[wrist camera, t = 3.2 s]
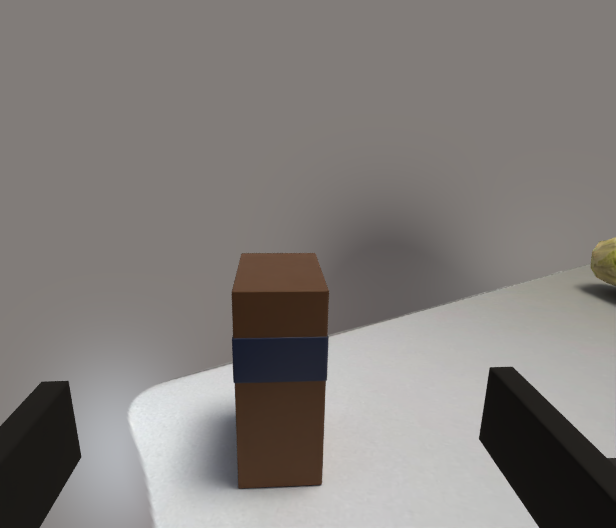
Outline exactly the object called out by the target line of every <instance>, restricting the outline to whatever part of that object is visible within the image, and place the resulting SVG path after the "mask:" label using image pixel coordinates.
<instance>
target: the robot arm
mask: <svg viewBox="0 0 616 528" xmlns="http://www.w3.org/2000/svg"><path fill="white" fill-rule="evenodd" d="M479 440H480V441H481V443H482V444H483V445H484V447H485V448H486V450H487V451H488V453H489V454H490V456H491V457H492V459H493V460H494V462H495V463H496V465H497V466H498V468H499V469H500V471H501V472H502V473H503V475H504V476H505V478H506V479H507V481H508V482H509V484H510V485H511V487H512V488H513V490H514V491H515V493H516V494H517V496H518V497H519V498H520V500H521V501H522V503H523V504H524V506H525V507H526V509H527V510H528V512H529V513H530V515H531V516H532V518H533V519H534V521H535V522H536V524H537V525H538V526H539V528H616V458H606V457H605V456H604V455H603V454H602V453H601V452H600V451H599V450H598V449H597V448H596V447H595V446H594V445H593V444H592V443H591V442H590V441H589V440H588V439H587V438H586V437H585V436H583V435H582V434H581V433H580V432H579V431H578V430H577V429H576V428H575V427H574V426H573V425H572V424H571V423H570V422H569V421H568V420H567V419H566V418H565V417H564V416H563V415H562V414H561V413H560V412H559V411H558V410H557V409H556V408H555V407H554V406H552V405H551V404H550V403H549V402H548V401H547V400H546V399H545V398H544V397H543V396H542V395H541V394H540V393H539V392H538V391H537V390H536V389H535V388H534V387H533V386H532V385H531V384H530V383H529V382H528V381H527V380H526V379H525V378H524V377H523V376H521V375H520V374H519V373H518V372H517V371H516V370H515V369H514V368H513V367H490V370H489V376H488V383H487V389H486V396H485V403H484V409H483V416H482V422H481V429H480V436H479ZM80 458H81V452H80V446H79V440H78V434H77V428H76V423H75V416H74V411H73V405H72V399H71V393H70V387H69V382H68V381H51V382H41V383H40V384H39V385H38V386H37V387H36V389H35V390H34V391H33V392H32V393H31V394H30V395H29V396H28V397H27V398H26V399H25V401H23V402H22V404H21V405H20V406H19V407H18V408H17V409H16V410H15V411H14V412H13V413H12V414H11V415H10V416H9V418H8V419H7V420H6V421H5V422H4V423H3V424H2V425H1V426H0V528H40V526H41V524H42V523H43V521H44V519H45V518H46V516H47V514H48V513H49V511H50V509H51V507H52V506H53V504H54V502H55V501H56V499H57V497H58V496H59V494H60V492H61V491H62V489H63V487H64V486H65V484H66V482H67V480H68V479H69V477H70V475H71V474H72V472H73V470H74V469H75V467H76V465H77V463H78V462H79V460H80Z"/></svg>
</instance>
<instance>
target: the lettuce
mask: <svg viewBox="0 0 616 528" xmlns="http://www.w3.org/2000/svg"><path fill="white" fill-rule="evenodd" d="M591 258H592V259H591V269H592V271H593V272H594V274H595V276H596V277H597V278H599V279H601V280H603V281H604V282H606V283H609V284H612V285H614V286H616V237H615V238H612V239H609V240H606V241H600V242H599V243H598V245H597V246H596V247H595V249H594V250H593V251H592V257H591Z"/></svg>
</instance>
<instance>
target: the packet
mask: <svg viewBox="0 0 616 528" xmlns="http://www.w3.org/2000/svg"><path fill="white" fill-rule="evenodd" d="M328 303H329V290H328V287H327V285H326V282H325V279H324V276H323V274H322V271H321V268H320V265H319V263H318V259H317V257H316V254H315V253H242V254H241V258H240V262H239V265H238V270H237V274H236V277H235V281H234V285H233V289H232V316H233V337H232V351H233V380H234V383H235V405H236V434H237V464H238V487H239V488H259V487H280V486H302V485H321V484H322V467H323V440H324V413H325V386H326V380H327V363H328V334H327V332H328Z"/></svg>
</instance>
